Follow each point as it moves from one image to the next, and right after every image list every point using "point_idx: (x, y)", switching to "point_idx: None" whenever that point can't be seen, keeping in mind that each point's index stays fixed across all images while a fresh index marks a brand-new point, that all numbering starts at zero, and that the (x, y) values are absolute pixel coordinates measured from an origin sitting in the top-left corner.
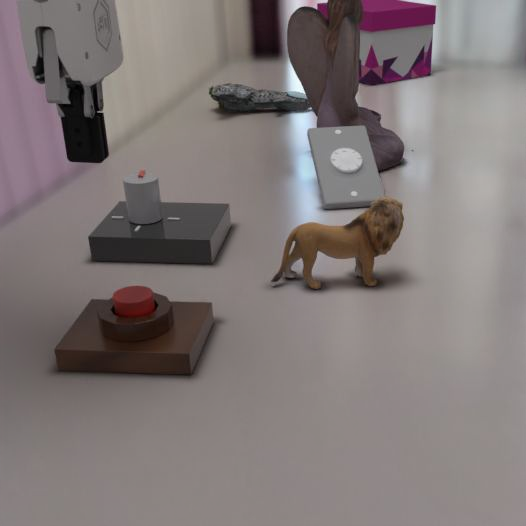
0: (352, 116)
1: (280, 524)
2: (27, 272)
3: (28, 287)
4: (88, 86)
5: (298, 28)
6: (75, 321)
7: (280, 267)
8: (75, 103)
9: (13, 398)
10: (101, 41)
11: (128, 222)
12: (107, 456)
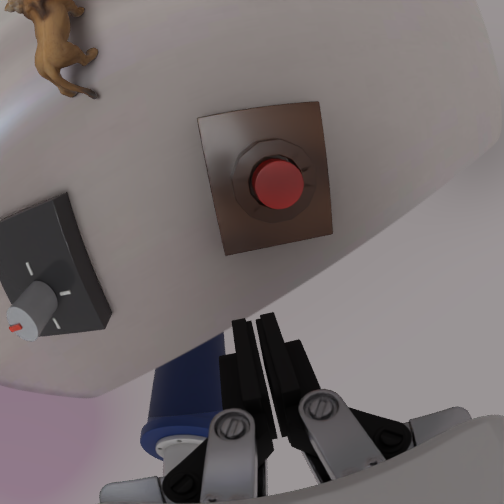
0: None
1: (436, 29)
2: (158, 349)
3: (184, 334)
4: (344, 468)
5: None
6: (278, 244)
7: (79, 91)
8: (394, 421)
9: (364, 237)
10: None
11: (58, 309)
12: (415, 136)
